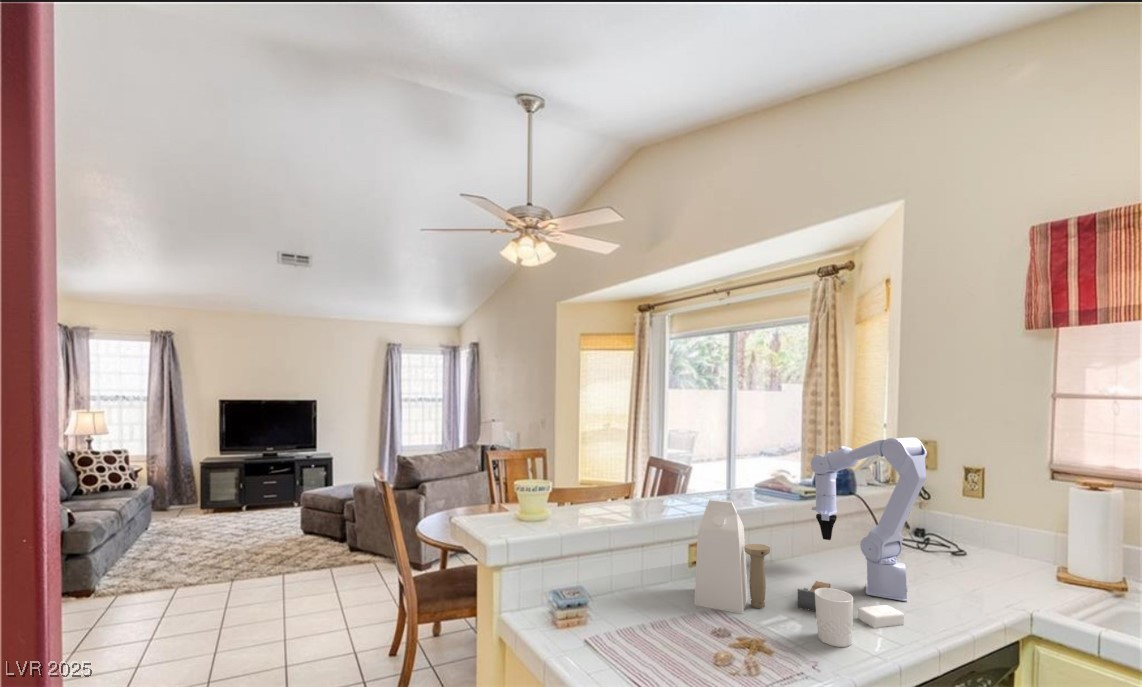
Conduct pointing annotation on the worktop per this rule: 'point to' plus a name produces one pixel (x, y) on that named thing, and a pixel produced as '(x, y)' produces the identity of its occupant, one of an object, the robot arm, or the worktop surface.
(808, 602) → the bracket
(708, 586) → the milk
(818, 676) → the worktop surface
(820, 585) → the tan rectangular block
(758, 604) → the handle
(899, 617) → the soap
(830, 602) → the white cup
